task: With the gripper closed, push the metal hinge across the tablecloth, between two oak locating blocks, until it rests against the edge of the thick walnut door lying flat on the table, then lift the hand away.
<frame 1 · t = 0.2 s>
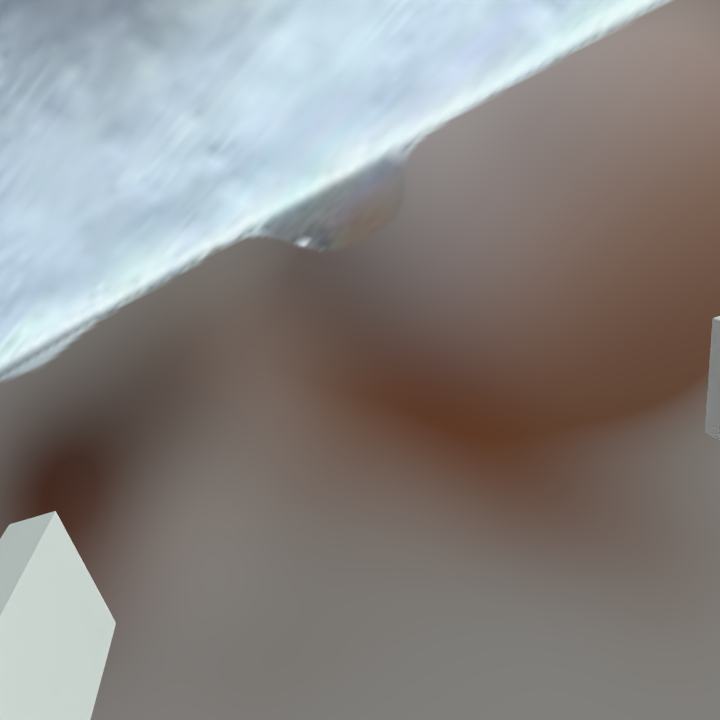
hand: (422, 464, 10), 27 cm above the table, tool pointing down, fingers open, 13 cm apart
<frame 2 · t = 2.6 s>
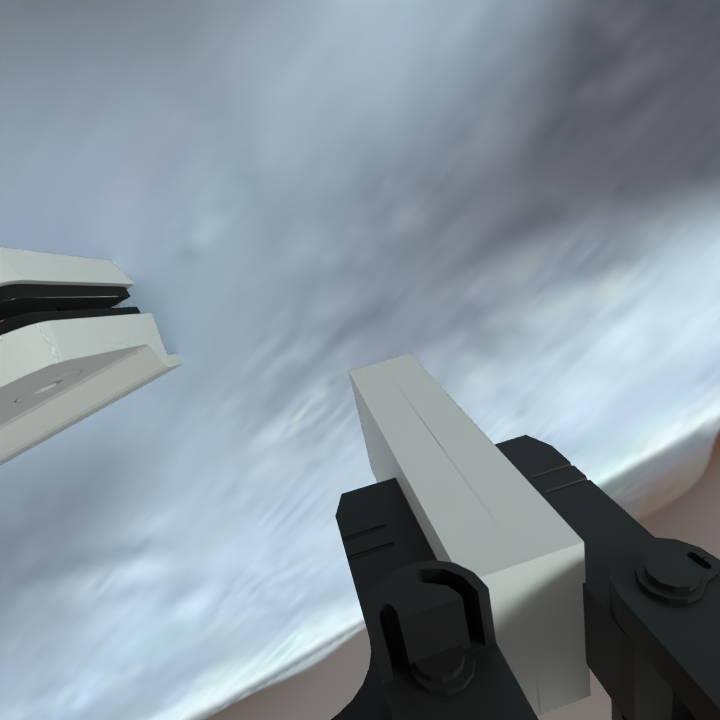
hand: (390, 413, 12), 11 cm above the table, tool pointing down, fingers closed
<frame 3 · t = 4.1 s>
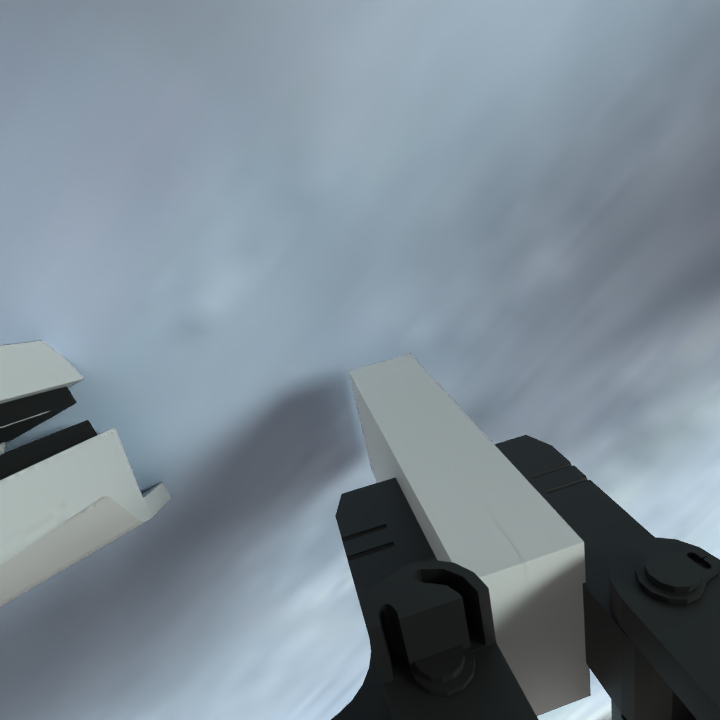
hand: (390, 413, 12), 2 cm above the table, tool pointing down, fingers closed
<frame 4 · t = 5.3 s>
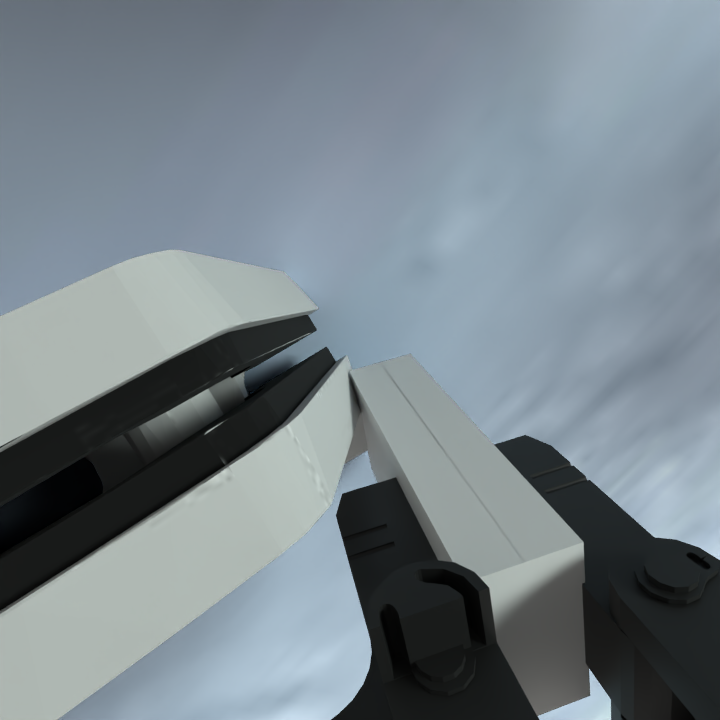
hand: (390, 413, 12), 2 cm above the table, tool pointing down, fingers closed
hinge: (28, 472, 13), on the table, touching gripper
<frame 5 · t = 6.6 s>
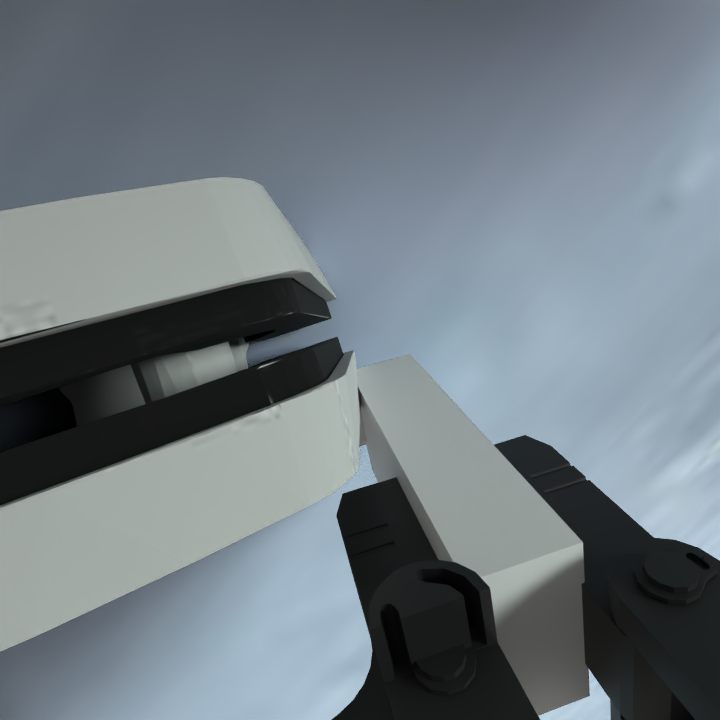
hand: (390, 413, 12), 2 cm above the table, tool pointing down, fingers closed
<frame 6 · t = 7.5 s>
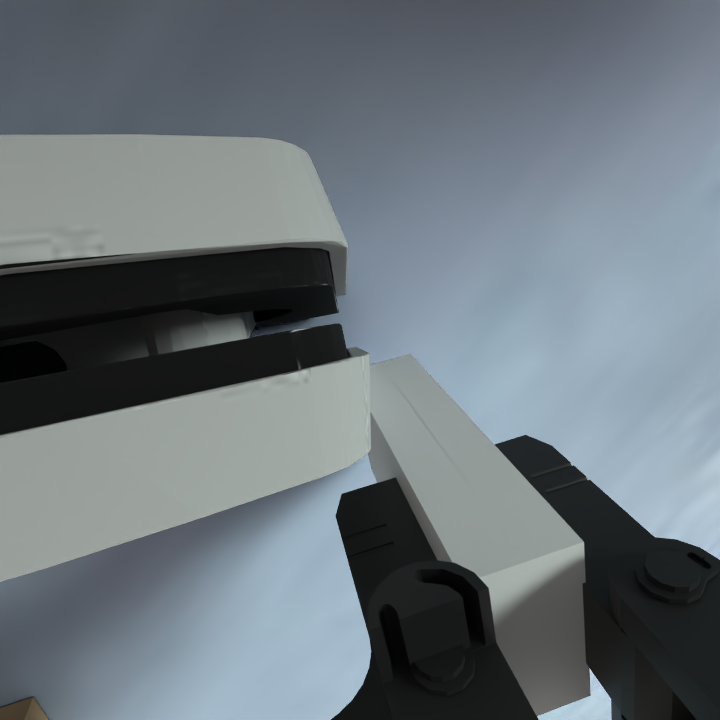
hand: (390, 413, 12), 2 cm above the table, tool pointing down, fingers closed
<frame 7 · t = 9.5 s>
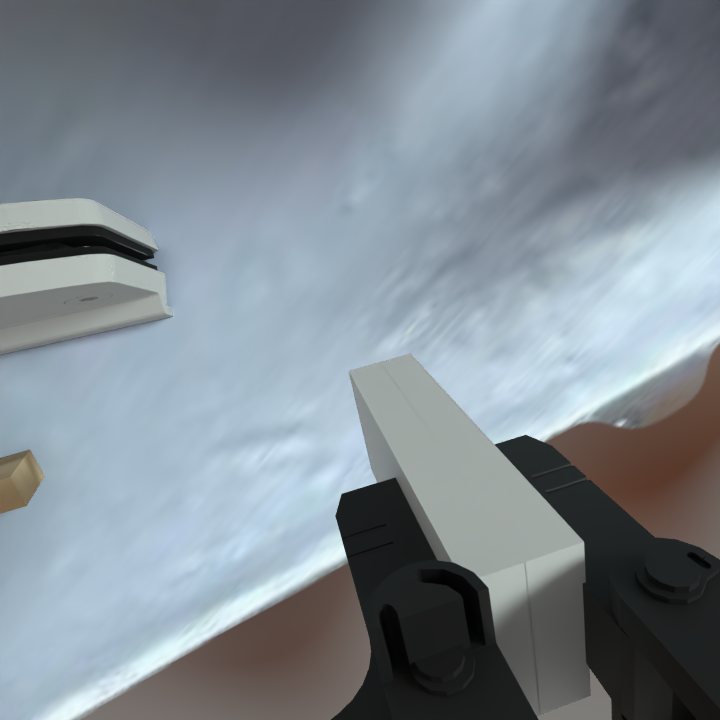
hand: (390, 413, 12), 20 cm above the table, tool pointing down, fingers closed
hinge: (4, 280, 28), on the table
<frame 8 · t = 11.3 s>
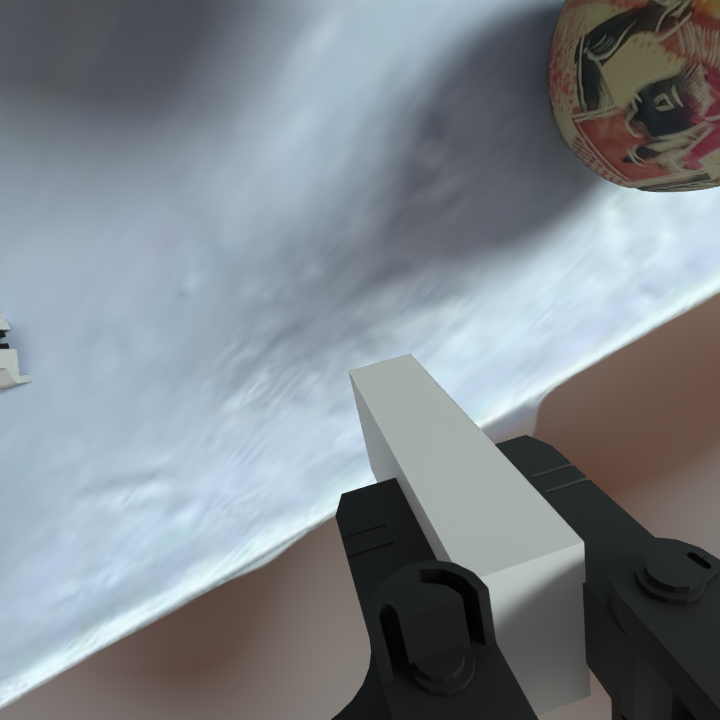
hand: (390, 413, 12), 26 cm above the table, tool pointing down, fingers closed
ceramic jug: (603, 85, 37), on the table
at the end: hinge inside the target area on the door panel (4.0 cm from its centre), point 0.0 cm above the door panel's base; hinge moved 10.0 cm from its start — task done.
